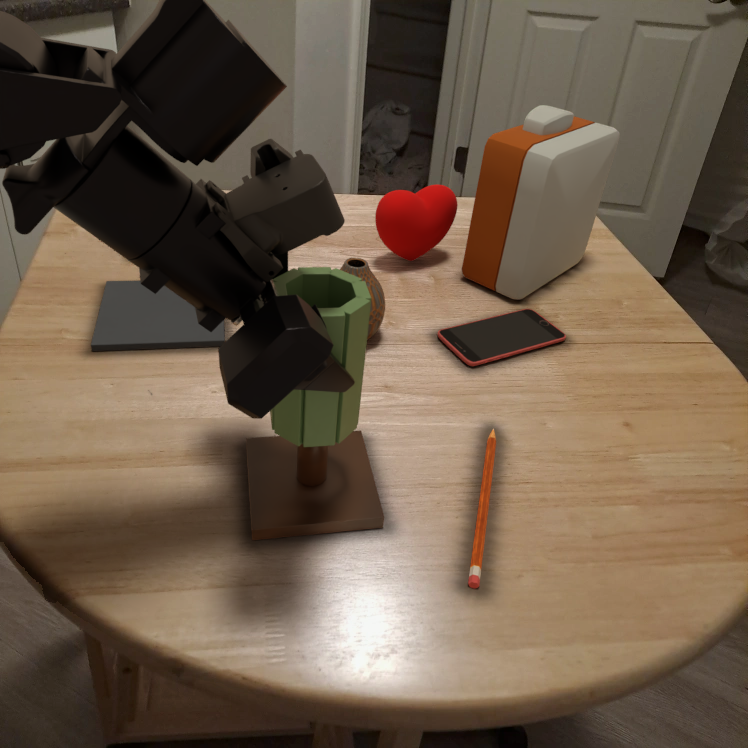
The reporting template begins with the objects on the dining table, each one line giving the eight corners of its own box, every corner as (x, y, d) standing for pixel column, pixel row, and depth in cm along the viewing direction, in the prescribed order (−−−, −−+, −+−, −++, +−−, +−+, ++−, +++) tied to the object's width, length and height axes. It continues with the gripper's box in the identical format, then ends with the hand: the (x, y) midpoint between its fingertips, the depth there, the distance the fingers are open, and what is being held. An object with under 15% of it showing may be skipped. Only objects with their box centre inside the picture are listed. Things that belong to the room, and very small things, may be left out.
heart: (434, 245, 92) (445, 175, 86) (457, 262, 89) (470, 190, 83) (362, 259, 87) (368, 186, 81) (384, 278, 83) (392, 202, 77)
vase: (352, 311, 76) (357, 241, 71) (394, 337, 73) (403, 266, 67) (306, 330, 72) (308, 258, 67) (348, 359, 69) (354, 285, 63)
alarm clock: (529, 240, 97) (566, 92, 85) (583, 261, 92) (630, 109, 80) (457, 279, 85) (487, 114, 73) (515, 306, 81) (558, 135, 68)
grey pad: (91, 351, 66) (90, 344, 65) (107, 286, 76) (106, 280, 75) (225, 346, 68) (224, 340, 68) (223, 284, 79) (222, 278, 78)
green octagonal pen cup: (274, 449, 46) (275, 317, 40) (267, 393, 51) (267, 266, 45) (363, 444, 48) (378, 314, 41) (348, 389, 53) (359, 266, 46)
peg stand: (252, 540, 49) (250, 484, 45) (246, 448, 57) (244, 393, 53) (383, 527, 51) (391, 473, 48) (360, 440, 59) (365, 387, 55)
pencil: (467, 587, 48) (469, 581, 47) (488, 430, 62) (490, 424, 61) (478, 589, 47) (480, 584, 47) (496, 431, 62) (498, 426, 61)
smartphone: (570, 336, 75) (471, 364, 69) (568, 341, 75) (470, 369, 69) (530, 306, 79) (434, 330, 73) (529, 310, 80) (433, 334, 74)
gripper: (297, 177, 28) (479, 359, 38) (231, 70, 42) (378, 223, 52) (126, 347, 31) (340, 477, 40) (117, 192, 44) (278, 317, 54)
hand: (336, 357), depth 47 cm, fingers closed on green octagonal pen cup, 6 cm apart
